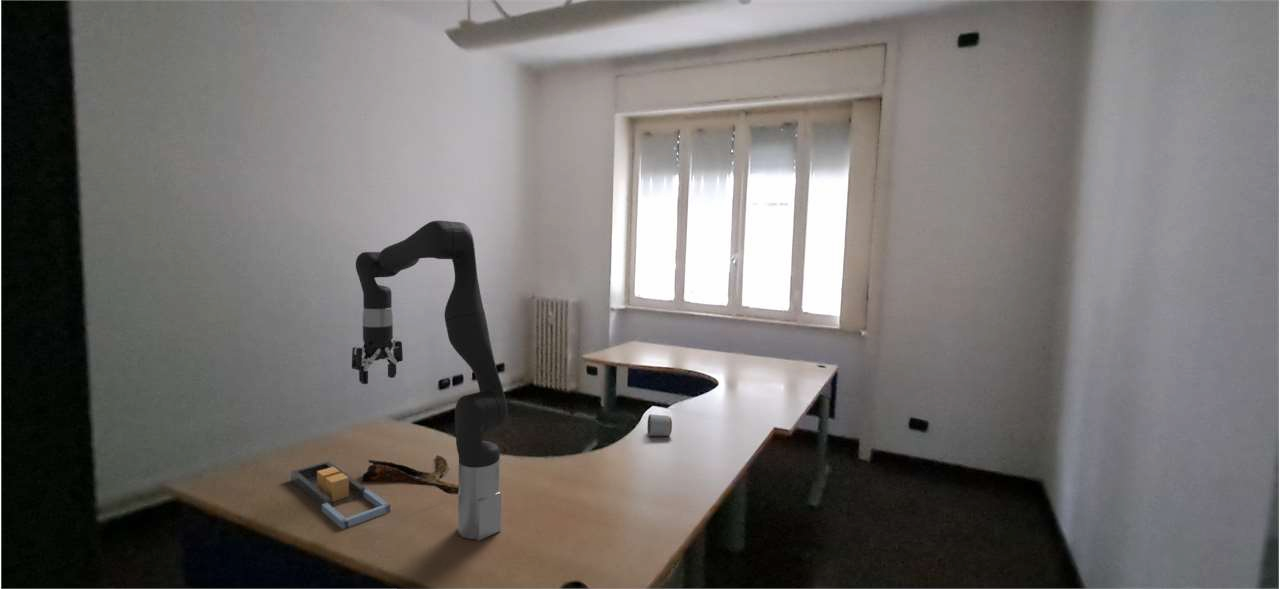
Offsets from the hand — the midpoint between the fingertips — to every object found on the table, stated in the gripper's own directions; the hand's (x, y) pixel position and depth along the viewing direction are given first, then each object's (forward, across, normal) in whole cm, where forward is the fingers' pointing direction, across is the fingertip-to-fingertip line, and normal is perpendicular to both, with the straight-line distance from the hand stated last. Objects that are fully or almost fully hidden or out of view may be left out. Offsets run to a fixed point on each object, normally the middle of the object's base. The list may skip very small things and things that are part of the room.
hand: (378, 380), depth 150 cm
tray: (+28, -18, -16) cm, 36 cm away
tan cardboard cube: (+26, -14, +1) cm, 30 cm away
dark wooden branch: (+29, +8, -10) cm, 31 cm away
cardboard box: (+26, -16, -5) cm, 31 cm away
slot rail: (+28, -14, +2) cm, 31 cm away
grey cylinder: (+28, +75, -53) cm, 96 cm away
